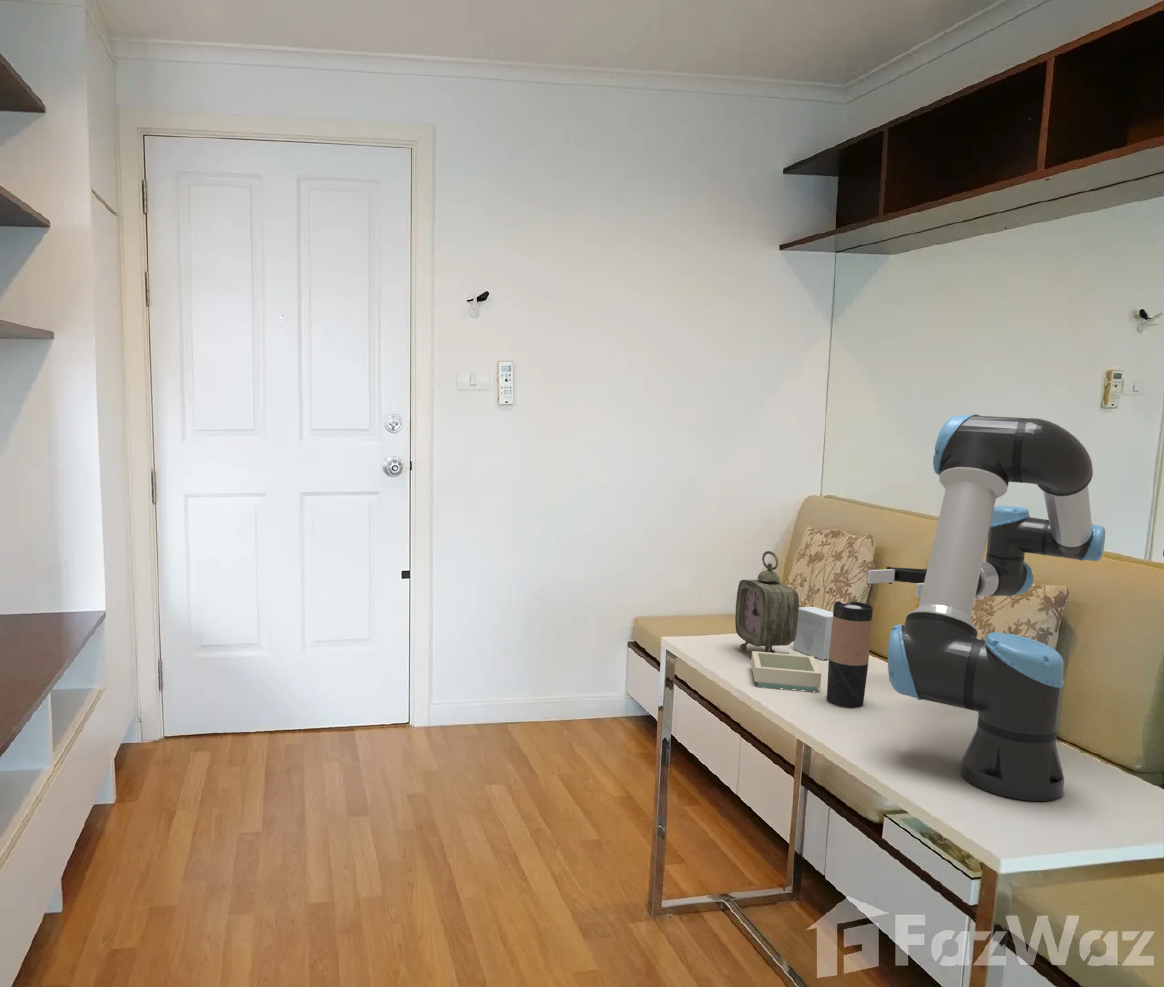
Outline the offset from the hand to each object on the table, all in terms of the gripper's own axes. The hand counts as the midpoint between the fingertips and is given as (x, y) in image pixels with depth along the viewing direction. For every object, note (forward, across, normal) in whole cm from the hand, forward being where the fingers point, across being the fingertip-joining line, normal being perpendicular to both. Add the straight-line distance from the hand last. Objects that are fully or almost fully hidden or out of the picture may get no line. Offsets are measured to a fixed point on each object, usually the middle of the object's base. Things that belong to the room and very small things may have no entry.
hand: (891, 583), depth 191 cm
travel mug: (+10, 0, -24) cm, 26 cm away
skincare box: (-9, +32, -24) cm, 41 cm away
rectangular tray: (+12, +18, -24) cm, 32 cm away
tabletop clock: (+6, +33, -24) cm, 41 cm away
